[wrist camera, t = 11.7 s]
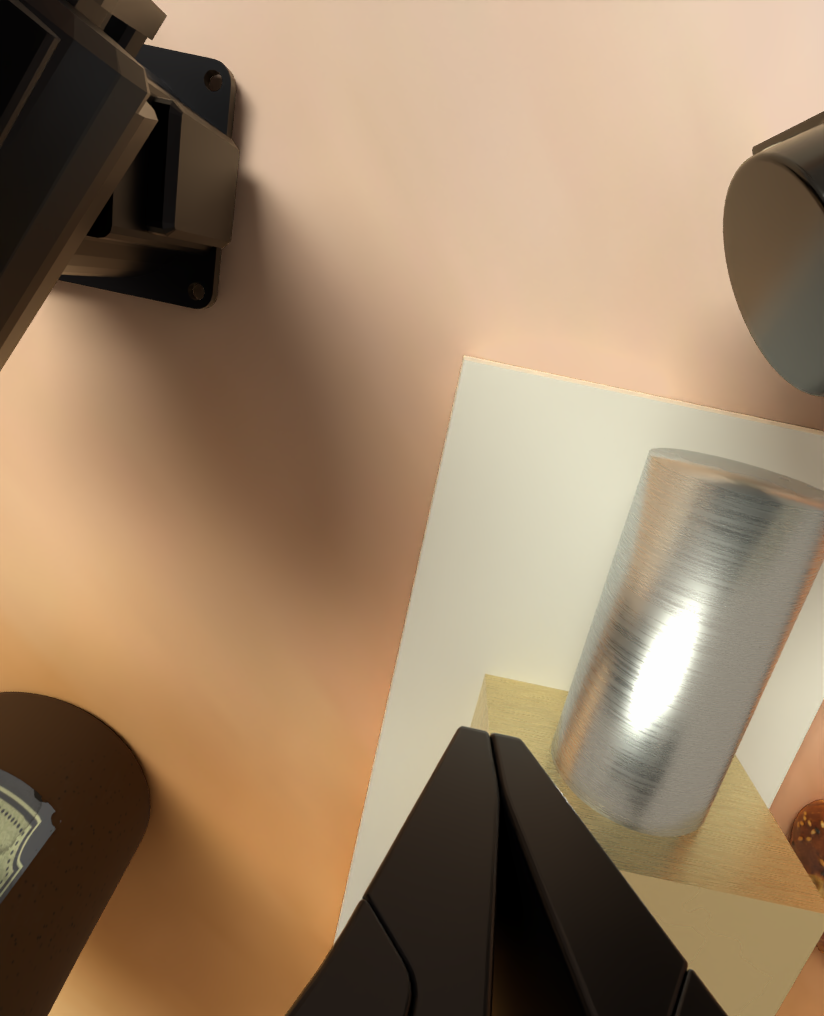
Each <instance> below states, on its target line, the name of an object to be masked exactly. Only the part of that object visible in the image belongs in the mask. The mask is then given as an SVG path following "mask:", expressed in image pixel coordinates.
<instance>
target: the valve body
mask: <svg viewBox="0 0 824 1016" xmlns="http://www.w3.org/2000/svg"><path fill="white" fill-rule="evenodd" d="M823 561H824V491H823V490H821V489H818V488H816V487H814V486H811V485H809V484H806V483H804V482H801V481H798V480H796V479H793V478H790V477H787V476H784V475H781V474H778V473H775V472H772V471H769V470H766V469H763V468H759V467H756V466H753V465H749V464H745V463H742V462H738V461H734V460H730V459H726V458H722V457H718V456H713V455H709V454H704V453H699V452H693V451H688V450H681V449H673V448H654V449H651V450H649V453H648V456H647V459H646V462H645V465H644V468H643V471H642V474H641V477H640V480H639V483H638V486H637V489H636V492H635V495H634V498H633V501H632V504H631V507H630V510H629V513H628V516H627V519H626V522H625V525H624V528H623V531H622V534H621V537H620V540H619V543H618V546H617V549H616V552H615V555H614V558H613V561H612V564H611V567H610V570H609V573H608V576H607V579H606V582H605V585H604V588H603V591H602V594H601V597H600V600H599V603H598V606H597V609H596V612H595V614H594V617H593V620H592V623H591V626H590V629H589V632H588V635H587V638H586V641H585V644H584V647H583V650H582V653H581V656H580V659H579V662H578V665H577V668H576V671H575V674H574V677H573V680H572V683H571V686H570V689H569V691H564V690H560V689H555V688H550V687H546V686H541V685H536V684H531V683H527V682H522V681H517V680H513V679H508V678H503V677H498V676H494V675H489V674H485V676H484V679H483V683H482V687H481V690H480V694H479V697H478V701H477V704H476V708H475V712H474V715H473V719H472V722H471V726H470V727H471V728H475V729H480V730H484V731H486V732H488V733H489V736H490V735H491V734H492V733H499V734H504V735H508V736H513V737H517V738H520V739H521V740H522V741H523V742H524V743H525V745H526V746H527V747H528V749H529V750H530V752H531V753H532V754H533V756H534V757H535V758H536V760H537V761H538V762H539V764H540V765H541V766H542V768H543V769H544V770H545V772H546V773H547V774H548V776H549V777H550V778H551V780H552V781H553V782H554V784H555V785H556V786H557V788H558V789H559V790H560V792H561V793H562V794H563V796H564V797H565V798H566V800H567V801H568V802H569V804H570V805H571V806H572V808H573V809H574V811H575V812H576V813H577V815H578V816H579V817H580V819H581V820H582V821H583V823H584V824H585V825H586V827H587V828H588V829H589V831H590V832H591V833H592V835H593V836H594V837H595V839H596V840H597V841H598V843H599V844H600V845H601V847H602V848H603V849H604V851H605V852H606V853H607V855H608V856H609V857H610V859H611V860H612V861H613V863H614V864H615V865H616V867H617V868H618V870H619V871H620V872H621V874H622V875H623V876H624V878H625V879H626V880H627V882H628V883H629V884H630V886H631V887H632V888H633V890H634V891H635V892H636V894H637V895H638V896H639V898H640V899H641V900H642V902H643V903H644V904H645V906H646V907H647V908H648V910H649V911H650V912H651V914H652V915H653V916H654V918H655V919H656V920H657V922H658V923H659V925H660V926H661V927H662V929H663V930H664V931H665V933H666V934H667V935H668V937H669V938H670V939H671V941H672V942H673V943H674V945H675V946H676V947H677V949H678V950H679V951H680V953H681V954H682V955H683V957H684V958H685V959H686V961H687V962H688V968H687V970H688V969H692V970H694V971H695V972H696V974H697V975H698V976H699V978H700V979H701V980H702V982H703V983H704V984H705V986H706V987H707V988H708V990H709V991H710V992H711V994H712V995H713V996H714V998H715V999H716V1001H717V1002H718V1003H719V1005H720V1006H721V1007H722V1008H723V1010H724V1011H725V1012H726V1014H727V1015H728V1016H775V1015H776V1013H777V1011H778V1010H779V1008H780V1006H781V1004H782V1003H783V1001H784V999H785V997H786V996H787V994H788V992H789V991H790V989H791V987H792V985H793V984H794V982H795V980H796V979H797V977H798V975H799V973H800V972H801V970H802V968H803V967H804V965H805V963H806V961H807V960H808V958H809V956H810V955H811V953H812V951H813V949H814V948H815V946H816V944H817V943H818V941H819V939H820V937H821V936H822V934H823V932H824V900H823V898H822V896H821V895H820V893H819V891H818V890H817V888H816V887H815V885H814V883H813V882H812V880H811V878H810V877H809V875H808V873H807V872H806V870H805V868H804V867H803V865H802V863H801V862H800V860H799V859H798V857H797V855H796V854H795V852H794V850H793V849H792V847H791V845H790V844H789V842H788V840H787V839H786V837H785V835H784V834H783V832H782V830H781V829H780V827H779V826H778V824H777V822H776V821H775V819H774V817H773V816H772V814H771V812H770V811H769V809H768V807H767V806H766V804H765V802H764V801H763V799H762V798H761V796H760V794H759V793H758V791H757V789H756V788H755V786H754V784H753V783H752V781H751V779H750V778H749V776H748V774H747V773H746V771H745V770H744V768H743V766H742V765H741V763H740V761H739V760H738V758H737V756H736V755H735V753H736V751H737V749H738V747H739V745H740V742H741V740H742V738H743V736H744V734H745V732H746V729H747V727H748V725H749V723H750V721H751V718H752V716H753V714H754V712H755V710H756V707H757V705H758V703H759V701H760V699H761V697H762V694H763V692H764V690H765V688H766V686H767V683H768V681H769V679H770V677H771V675H772V672H773V670H774V668H775V666H776V664H777V661H778V659H779V657H780V655H781V653H782V651H783V648H784V646H785V644H786V642H787V640H788V637H789V635H790V633H791V631H792V629H793V626H794V624H795V622H796V620H797V618H798V616H799V613H800V611H801V609H802V607H803V605H804V602H805V600H806V598H807V596H808V594H809V591H810V589H811V587H812V585H813V583H814V581H815V578H816V576H817V574H818V572H819V570H820V567H821V565H822V563H823Z"/></svg>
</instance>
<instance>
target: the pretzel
mask: <svg viewBox="0 0 824 1016" xmlns="http://www.w3.org/2000/svg"><path fill="white" fill-rule="evenodd" d="M790 845H791V847H792V849H793V850H794V852H795V854H796V855H797V857H798V859H799V860H800V862H801V863H802V865H803V867H804V868H805V870H806V872H807V873H808V875H809V877H810V878H811V880H812V882H813V883H814V885H815V887H816V888H817V890H818V891H819V893H820V895H821V896H822V898H823V900H824V800H817V801H814V802H812V803H810V804H809V805H807V806H805V807H804V808H803V809H802V810H801V811H800V812H799V814H798V816H797V818H796V820H795V822H794V825H793V830H792V837H791V839H790ZM816 946H817V947H818V949H819V950H820V951H821V952H822V953H823V954H824V932H823V934H822V936H821V937H820V939H819V941H818V943H817V944H816Z"/></svg>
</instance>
